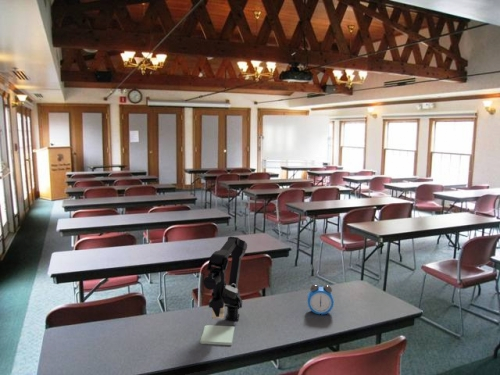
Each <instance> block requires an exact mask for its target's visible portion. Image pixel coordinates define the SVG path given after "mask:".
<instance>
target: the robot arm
mask: <svg viewBox="0 0 500 375" xmlns="http://www.w3.org/2000/svg"><path fill="white" fill-rule="evenodd" d="M247 248H248V243H247V242H246V240H243V239H241V238H239V237H238V236H228V237H227V240H226V242H225V243H224V244H223V246H222V247H221V248H220V249H219V250H218V249H217V250H216V251H214V252H213V253H211V255H210V257H209V261H208V264H207V268H206V271H209V273H208V274H207V276H206V277H205V278H204V279H203V281H202V282H203V286H204V288H205V289H206V290H209V291H210V290H212V291H211V298H210V299H209V301H208V308H209V309H213V311H214V313H215V315H216V317H219V313H220V309H221V308H223V306H224V303H225V308H226V315H225V320H226V321H233V322H234V321H237V322H238V321H239V320H240V313H239V310H240V309H242V308H243V299H242V298H241V292H240V289H239V288H238V286H239V279H240V271H241V265H242V259H243V257H244V256H245V254H246V251H247V250H248V249H247ZM230 256H231V264H230V271H229V277H228V278H229V279H228V284H227V282H226V271H227V267H228V265H229V263H230V262H229V257H230Z"/></svg>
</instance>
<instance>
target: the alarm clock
mask: <svg viewBox="0 0 500 375" xmlns="http://www.w3.org/2000/svg"><path fill="white" fill-rule="evenodd" d="M332 292H333V289H332V287H331V286H330V285H328V284H325V285H324V286H323V285H320V286H319V285H318V284H315V283H314V284H311V286H310V287H309V292H308V295H307V305H308V308H309V309H310V311H311V312H312V314H313V313H314V314H316V315H320V314H321V315H328V313H330V312H331V311H332V310H333V308H334V301H335V300H334V297H333V294H332Z"/></svg>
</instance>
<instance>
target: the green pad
mask: <svg viewBox="0 0 500 375" xmlns="http://www.w3.org/2000/svg"><path fill="white" fill-rule="evenodd" d="M235 328H236V327H235V326H232V325H230V326H229V325H228V326H227V325H213V324H211V325H209V324H208V325H206V324H205V326H204V327H203V331H202V335H201V337H200V340H199V344H201V345H203V344H204V345H220V346H232V345H233V340H234V335H235Z"/></svg>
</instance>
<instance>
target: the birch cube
mask: <svg viewBox="0 0 500 375" xmlns="http://www.w3.org/2000/svg"><path fill="white" fill-rule="evenodd" d="M225 308H226V307H225V303H224V306H223V308H221V309H220V313H219V317H216V315H215V313H214V311H213V309H212V308H211V309H212V310H211V312H212V313H211V317H212V318H211V319H219V320H221V319H222V320H223V319H224V317H225Z"/></svg>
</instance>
